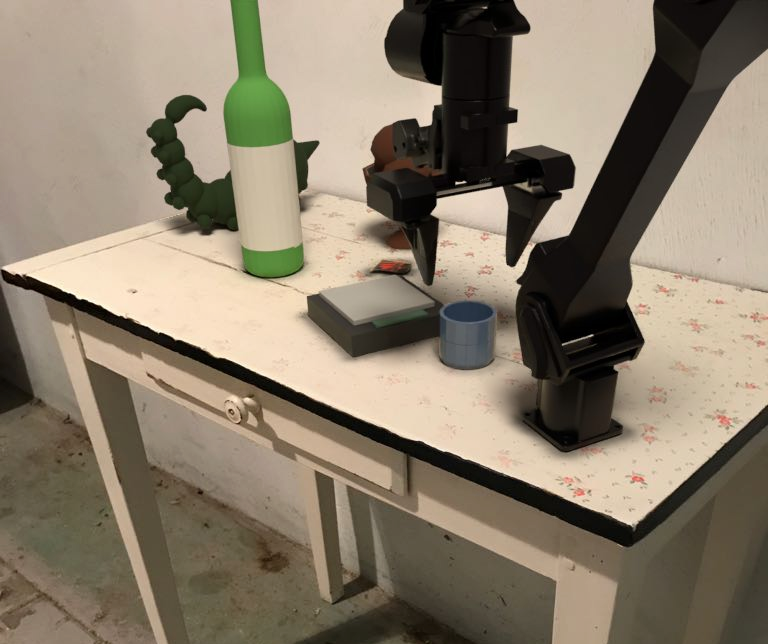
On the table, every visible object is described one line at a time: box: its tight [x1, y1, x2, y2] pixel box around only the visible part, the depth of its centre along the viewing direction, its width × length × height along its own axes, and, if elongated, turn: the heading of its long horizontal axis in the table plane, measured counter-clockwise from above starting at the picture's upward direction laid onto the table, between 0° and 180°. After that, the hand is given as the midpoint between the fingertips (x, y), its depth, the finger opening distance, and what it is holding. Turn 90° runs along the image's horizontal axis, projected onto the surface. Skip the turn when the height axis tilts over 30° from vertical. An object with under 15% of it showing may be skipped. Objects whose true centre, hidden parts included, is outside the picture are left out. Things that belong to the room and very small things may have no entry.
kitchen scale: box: [306, 274, 446, 358], centre depth 90 cm, size 12×12×3 cm
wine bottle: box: [222, 0, 305, 278], centre depth 96 cm, size 8×8×30 cm
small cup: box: [438, 299, 498, 371], centre depth 82 cm, size 6×6×5 cm
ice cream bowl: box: [362, 123, 441, 250], centre depth 107 cm, size 11×11×15 cm
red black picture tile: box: [369, 258, 412, 274], centre depth 104 cm, size 5×5×1 cm
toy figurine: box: [145, 94, 320, 231], centre depth 116 cm, size 9×19×25 cm
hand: (470, 275), depth 78 cm, fingers open, 9 cm apart
